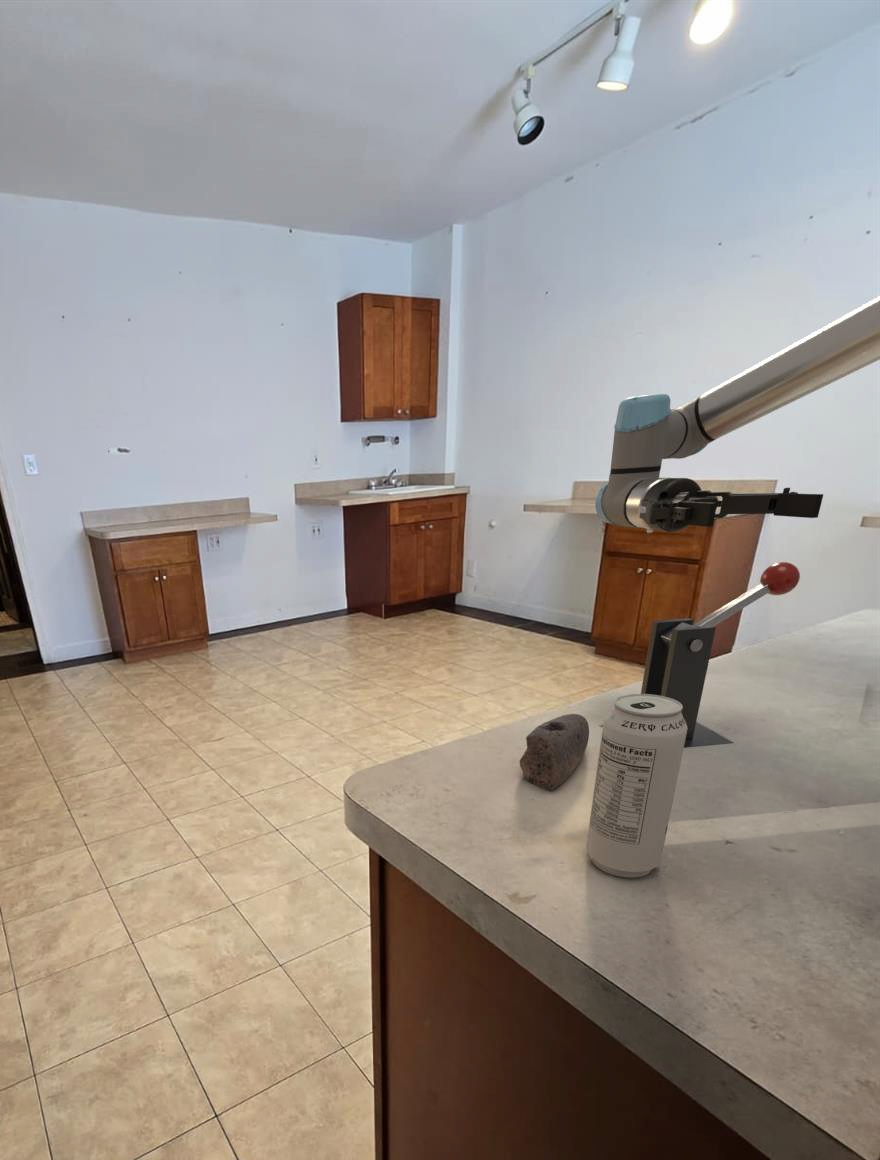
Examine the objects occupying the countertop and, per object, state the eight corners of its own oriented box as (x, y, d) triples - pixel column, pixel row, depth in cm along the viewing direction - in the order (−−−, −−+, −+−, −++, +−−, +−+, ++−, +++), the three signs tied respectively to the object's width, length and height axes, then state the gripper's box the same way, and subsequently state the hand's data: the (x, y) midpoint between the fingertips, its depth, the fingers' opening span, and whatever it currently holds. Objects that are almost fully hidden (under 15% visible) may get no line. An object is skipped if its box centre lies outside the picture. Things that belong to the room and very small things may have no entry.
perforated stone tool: (558, 747, 80) (564, 695, 77) (602, 756, 77) (610, 702, 74) (506, 793, 70) (511, 735, 67) (554, 806, 67) (561, 745, 64)
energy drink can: (675, 872, 55) (710, 709, 49) (616, 887, 54) (645, 721, 47) (625, 838, 60) (650, 687, 54) (570, 851, 59) (590, 698, 53)
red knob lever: (787, 580, 74) (778, 553, 72) (811, 585, 70) (803, 557, 69) (665, 654, 76) (655, 630, 75) (683, 662, 73) (673, 637, 72)
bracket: (685, 725, 84) (708, 612, 77) (732, 752, 75) (762, 628, 69) (596, 733, 83) (612, 620, 77) (633, 761, 75) (654, 637, 69)
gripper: (737, 523, 100) (852, 534, 81) (583, 536, 99) (662, 550, 80) (747, 471, 97) (870, 469, 78) (588, 484, 96) (672, 485, 77)
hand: (765, 510), depth 79 cm, fingers open, 13 cm apart
